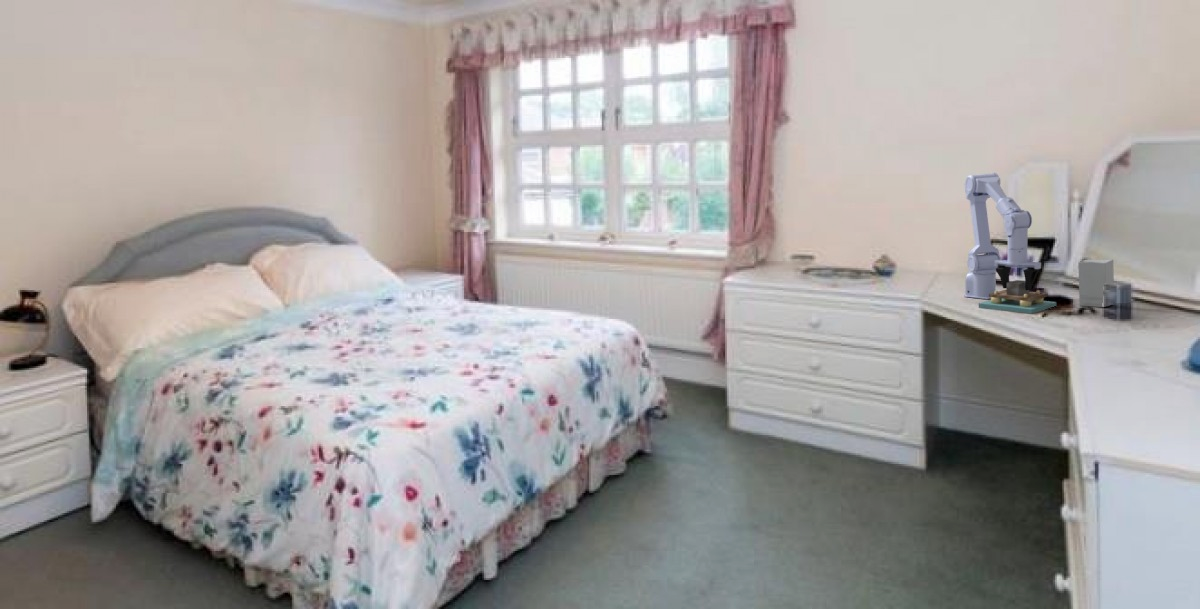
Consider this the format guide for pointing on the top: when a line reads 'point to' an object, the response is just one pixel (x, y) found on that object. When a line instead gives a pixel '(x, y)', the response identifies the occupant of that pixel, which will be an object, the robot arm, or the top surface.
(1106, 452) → the top surface
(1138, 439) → the top surface
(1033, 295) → the board
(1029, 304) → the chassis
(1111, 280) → the skincare box
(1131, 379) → the top surface
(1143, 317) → the top surface
